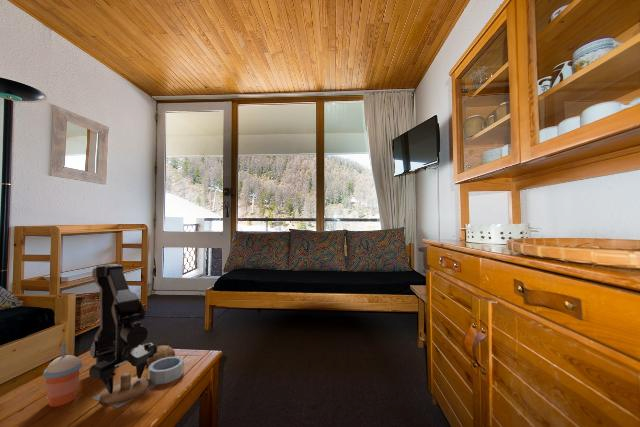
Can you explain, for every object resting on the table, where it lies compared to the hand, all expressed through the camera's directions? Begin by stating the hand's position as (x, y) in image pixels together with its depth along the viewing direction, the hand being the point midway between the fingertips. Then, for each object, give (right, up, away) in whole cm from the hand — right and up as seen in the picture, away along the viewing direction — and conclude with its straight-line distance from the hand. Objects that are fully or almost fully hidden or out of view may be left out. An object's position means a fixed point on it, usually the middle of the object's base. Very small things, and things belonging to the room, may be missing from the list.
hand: (125, 385), depth 93 cm
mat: (0, -2, 0) cm, 2 cm away
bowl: (+8, -3, +9) cm, 13 cm away
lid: (0, -2, 0) cm, 2 cm away
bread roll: (0, -3, +20) cm, 21 cm away
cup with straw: (-17, -2, -5) cm, 17 cm away
